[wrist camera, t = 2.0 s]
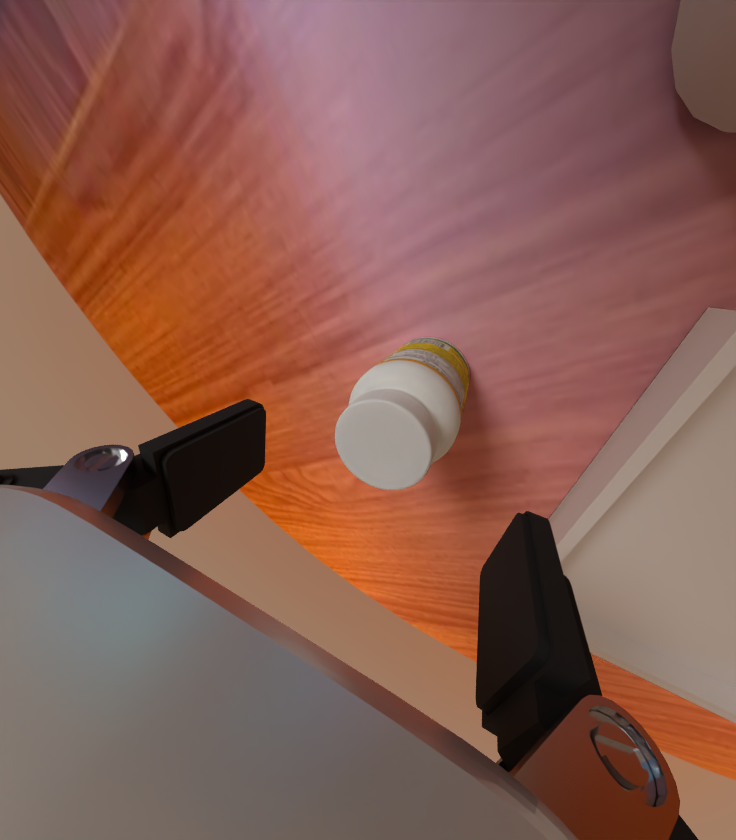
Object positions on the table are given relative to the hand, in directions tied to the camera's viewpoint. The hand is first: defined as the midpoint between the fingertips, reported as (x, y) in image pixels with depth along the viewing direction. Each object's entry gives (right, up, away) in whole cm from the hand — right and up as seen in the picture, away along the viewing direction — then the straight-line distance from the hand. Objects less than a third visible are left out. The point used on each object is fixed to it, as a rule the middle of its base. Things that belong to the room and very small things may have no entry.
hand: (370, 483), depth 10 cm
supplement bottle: (+4, +5, +9) cm, 11 cm away
